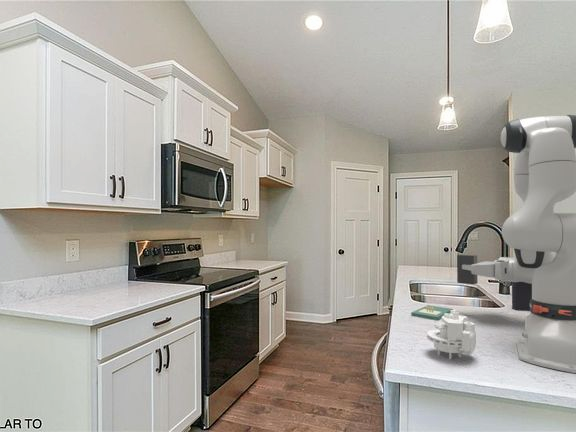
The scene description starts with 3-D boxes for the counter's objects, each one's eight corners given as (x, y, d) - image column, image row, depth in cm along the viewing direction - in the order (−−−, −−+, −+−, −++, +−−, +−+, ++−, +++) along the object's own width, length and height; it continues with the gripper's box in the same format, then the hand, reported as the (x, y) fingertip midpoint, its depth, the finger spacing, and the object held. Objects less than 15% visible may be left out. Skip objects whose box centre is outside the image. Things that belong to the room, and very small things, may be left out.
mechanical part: (432, 345, 102) (432, 304, 103) (478, 354, 96) (478, 310, 96) (422, 357, 93) (422, 312, 94) (472, 367, 86) (472, 319, 87)
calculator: (538, 309, 149) (537, 273, 150) (544, 311, 145) (544, 275, 145) (510, 308, 150) (510, 273, 151) (516, 310, 146) (516, 274, 146)
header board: (437, 320, 130) (437, 311, 130) (411, 315, 136) (411, 307, 136) (452, 311, 143) (452, 303, 143) (428, 307, 150) (428, 300, 150)
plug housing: (474, 284, 134) (473, 255, 134) (457, 282, 138) (457, 254, 138) (477, 283, 138) (477, 255, 138) (461, 281, 142) (460, 254, 142)
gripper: (510, 259, 137) (472, 257, 146) (499, 262, 122) (457, 259, 131) (510, 275, 137) (472, 272, 146) (499, 280, 122) (457, 276, 131)
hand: (464, 266), depth 138 cm, fingers closed on plug housing, 5 cm apart
